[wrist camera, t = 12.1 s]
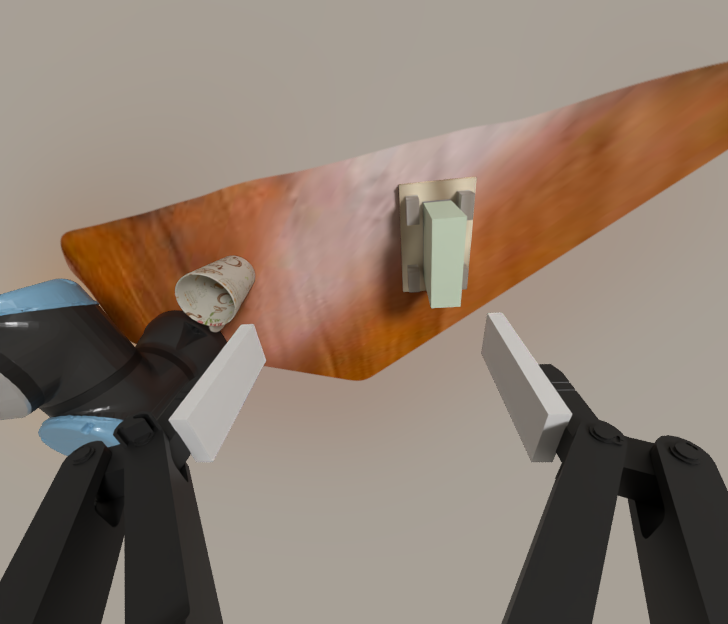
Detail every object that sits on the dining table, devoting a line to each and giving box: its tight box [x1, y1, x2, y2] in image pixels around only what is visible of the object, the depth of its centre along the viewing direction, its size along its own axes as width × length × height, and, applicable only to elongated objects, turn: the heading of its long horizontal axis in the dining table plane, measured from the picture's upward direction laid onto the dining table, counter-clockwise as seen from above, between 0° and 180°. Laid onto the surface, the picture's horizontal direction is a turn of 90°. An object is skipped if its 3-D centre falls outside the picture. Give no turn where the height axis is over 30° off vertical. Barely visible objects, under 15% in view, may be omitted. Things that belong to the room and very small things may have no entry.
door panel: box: [423, 199, 467, 308], centre depth 37 cm, size 4×11×10 cm, turn 6°
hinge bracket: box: [399, 177, 477, 292], centre depth 41 cm, size 10×16×4 cm, turn 6°
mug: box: [175, 256, 255, 332], centre depth 45 cm, size 8×13×10 cm, turn 166°
